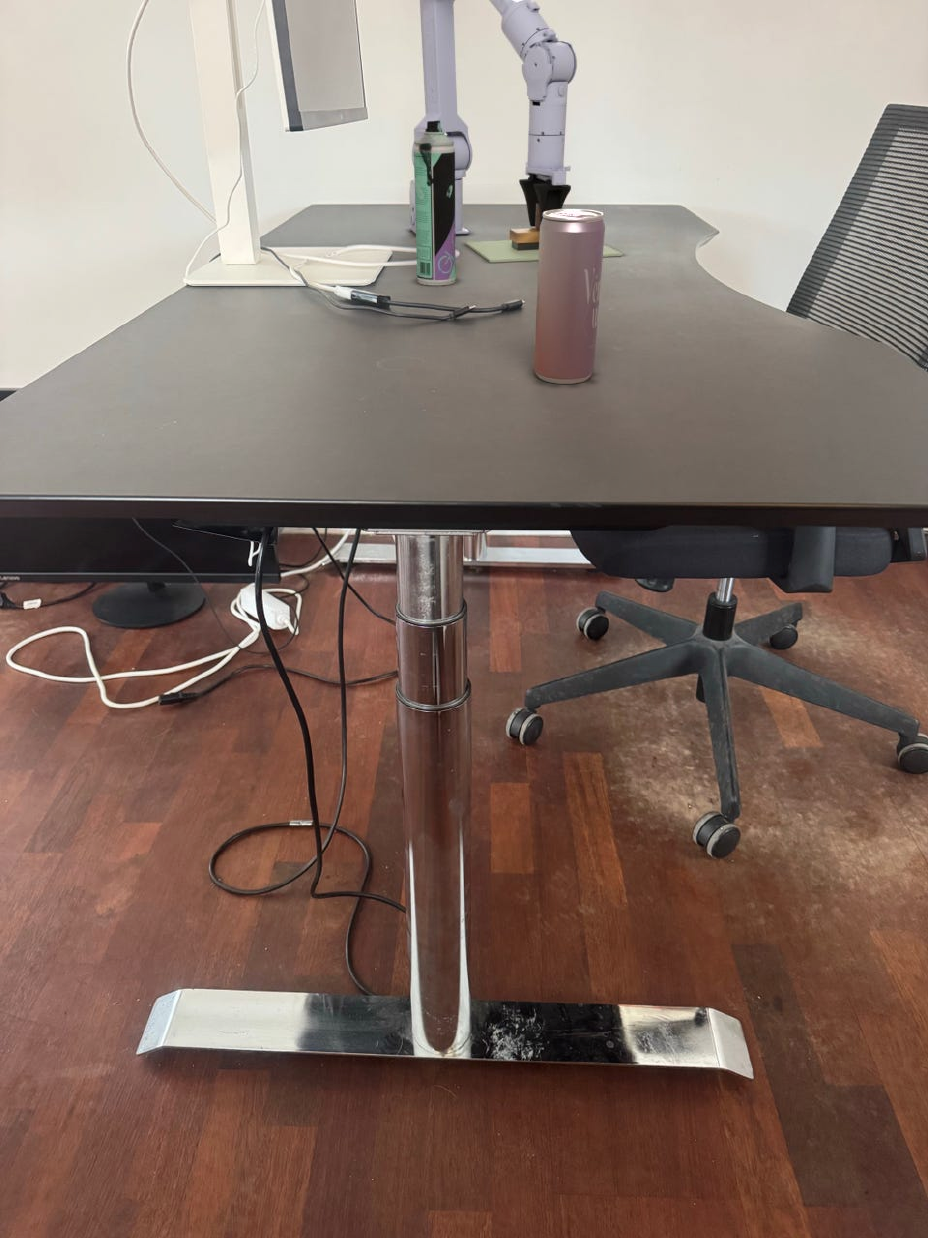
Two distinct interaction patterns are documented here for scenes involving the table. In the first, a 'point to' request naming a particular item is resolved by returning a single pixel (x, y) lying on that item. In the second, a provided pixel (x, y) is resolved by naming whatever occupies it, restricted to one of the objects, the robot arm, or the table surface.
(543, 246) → the beverage can
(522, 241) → the brush
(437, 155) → the spray can
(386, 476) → the table surface
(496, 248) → the mat
